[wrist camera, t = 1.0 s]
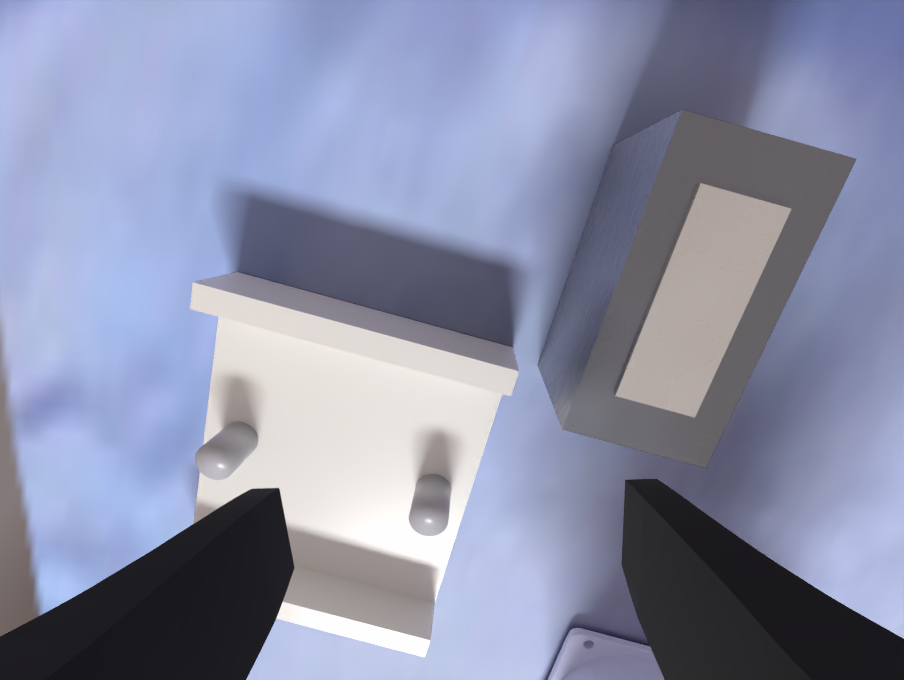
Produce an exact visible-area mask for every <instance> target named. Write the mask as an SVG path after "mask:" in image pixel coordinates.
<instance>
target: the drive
mask: <svg viewBox="0 0 904 680" xmlns="http://www.w3.org/2000/svg"><path fill="white" fill-rule="evenodd" d="M855 161H856V159H855V158H851V157H848V156H844V155H841V154H837V153H834V152H830V151H826V150H823V149H819V148H816V147H812V146H809V145H805V144H802V143H798V142H795V141H791V140H788V139H784V138H781V137H777V136H774V135H770V134H767V133H763V132H760V131H756V130H753V129H749V128H746V127H742V126H739V125H735V124H732V123H728V122H724V121H721V120H717V119H714V118H710V117H707V116H703V115H700V114H696V113H693V112H689V111H686V110H680V111H678V112H676V113H674V114H672V115H670V116H668V117H667V118H665V119H663V120H661V121H659V122H657V123H655V124H653V125H651V126H649V127H647V128H645V129H643V130H641V131H639V132H637V133H636V134H634V135H632V136H630V137H628V138H626V139H624V140H622V141H620V142H618V143H616V144H614V145H613V146H612V149H611V152H610V155H609V158H608V161H607V164H606V167H605V170H604V173H603V176H602V179H601V182H600V184H599V187H598V190H597V193H596V196H595V199H594V202H593V205H592V208H591V211H590V214H589V217H588V220H587V223H586V226H585V228H584V231H583V234H582V237H581V240H580V243H579V246H578V249H577V252H576V255H575V258H574V261H573V264H572V267H571V270H570V272H569V275H568V278H567V281H566V284H565V287H564V290H563V293H562V296H561V299H560V302H559V305H558V308H557V311H556V313H555V316H554V319H553V322H552V325H551V328H550V331H549V334H548V337H547V340H546V343H545V346H544V349H543V352H542V355H541V357H540V360H539V363H538V368H539V370H540V373H541V375H542V378H543V381H544V383H545V386H546V388H547V391H548V393H549V396H550V399H551V401H552V404H553V406H554V409H555V411H556V414H557V416H558V419H559V422H560V424H561V427H562V429H563V430H567V431H570V432H574V433H578V434H581V435H585V436H589V437H592V438H596V439H600V440H604V441H607V442H611V443H615V444H618V445H622V446H626V447H629V448H633V449H637V450H640V451H644V452H648V453H652V454H655V455H659V456H663V457H666V458H670V459H674V460H677V461H681V462H685V463H688V464H692V465H696V466H699V467H703V468H706V466H707V464H708V462H709V460H710V458H711V456H712V454H713V452H714V450H715V448H716V446H717V444H718V442H719V440H720V438H721V436H722V434H723V432H724V430H725V428H726V425H727V423H728V421H729V419H730V417H731V415H732V413H733V411H734V409H735V407H736V405H737V403H738V401H739V399H740V397H741V395H742V393H743V391H744V389H745V387H746V384H747V382H748V380H749V378H750V376H751V374H752V372H753V370H754V368H755V366H756V364H757V362H758V360H759V358H760V356H761V354H762V352H763V350H764V348H765V346H766V343H767V341H768V339H769V337H770V335H771V333H772V331H773V329H774V327H775V325H776V323H777V321H778V319H779V317H780V315H781V313H782V311H783V309H784V307H785V305H786V302H787V300H788V298H789V296H790V294H791V292H792V290H793V288H794V286H795V284H796V282H797V280H798V278H799V276H800V274H801V272H802V270H803V268H804V266H805V264H806V261H807V259H808V257H809V255H810V253H811V251H812V249H813V247H814V245H815V243H816V241H817V239H818V237H819V235H820V233H821V231H822V229H823V227H824V225H825V223H826V220H827V218H828V216H829V214H830V212H831V210H832V208H833V206H834V204H835V202H836V200H837V198H838V196H839V194H840V192H841V190H842V188H843V186H844V184H845V182H846V179H847V177H848V175H849V173H850V171H851V169H852V167H853V165H854V163H855Z"/></svg>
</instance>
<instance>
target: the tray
mask: <svg viewBox="0 0 904 680" xmlns="http://www.w3.org/2000/svg"><path fill="white" fill-rule="evenodd" d="M190 309H192V310H196V311H199V312H203V313H207V314H210V315H214V316H218V317H219V319H218V327H217V335H216V344H215V352H214V360H213V368H212V376H211V385H210V393H209V401H208V409H207V418H206V426H205V434H204V442H203V446H202V447H201V448H200V449H199V450H198V451H197V453H196V455H195V463H196V466H197V468H198V469H199V471H200V475H199V483H198V492H197V500H196V508H195V516H194V523H196V522H198V521H199V520H201V519H202V518H204V517H205V516H207V515H208V514H210V513H212V512H213V511H215V510H216V509H218V508H219V507H221V506H223V505H224V504H226V503H227V502H229V501H231V500H232V499H234V498H236V497H237V496H239V495H241V494H243V493H245V492H246V491H248V490H250V489H257V488H279V489H280V494H281V499H282V505H283V510H284V515H285V520H286V526H287V531H288V536H289V541H290V546H291V552H292V557H293V562H294V567H295V568H294V571H293V574H292V577H291V580H290V583H289V586H288V588H287V591H286V594H285V597H284V600H283V602H282V605H281V608H280V610H279V613H278V615H277V619H281V620H284V621H288V622H292V623H296V624H300V625H304V626H307V627H311V628H315V629H319V630H323V631H326V632H330V633H334V634H338V635H342V636H346V637H349V638H353V639H357V640H361V641H365V642H368V643H372V644H376V645H380V646H384V647H388V648H391V649H395V650H399V651H403V652H407V653H411V654H414V655H418V656H422V657H425V655H426V652H427V649H428V646H429V643H430V640H431V631H432V622H433V613H434V605H435V600H436V597H437V594H438V591H439V588H440V585H441V582H442V579H443V575H444V572H445V569H446V566H447V563H448V560H449V557H450V554H451V551H452V548H453V544H454V541H455V538H456V535H457V532H458V529H459V526H460V523H461V520H462V517H463V514H464V510H465V507H466V504H467V501H468V498H469V495H470V492H471V489H472V486H473V483H474V480H475V476H476V473H477V470H478V467H479V464H480V461H481V458H482V455H483V452H484V449H485V446H486V442H487V439H488V436H489V433H490V430H491V427H492V424H493V421H494V418H495V415H496V411H497V408H498V405H499V402H500V399H501V396H502V394H504V395H508V396H511V395H512V392H513V389H514V386H515V383H516V380H517V377H518V374H519V369H518V365H517V361H516V357H515V353H514V349H513V347H509V346H506V345H502V344H499V343H495V342H491V341H488V340H484V339H480V338H477V337H473V336H469V335H466V334H462V333H458V332H455V331H451V330H447V329H444V328H440V327H436V326H433V325H429V324H425V323H422V322H418V321H415V320H411V319H407V318H404V317H400V316H396V315H393V314H389V313H385V312H382V311H378V310H374V309H371V308H367V307H363V306H360V305H356V304H352V303H349V302H345V301H342V300H338V299H334V298H331V297H327V296H323V295H320V294H316V293H312V292H309V291H305V290H301V289H298V288H294V287H290V286H287V285H283V284H279V283H276V282H272V281H269V280H265V279H261V278H258V277H254V276H250V275H247V274H243V273H239V272H234V273H230V274H226V275H222V276H217V277H213V278H209V279H205V280H201V281H196V282H193V286H192V296H191V306H190Z"/></svg>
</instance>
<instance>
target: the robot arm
mask: <svg viewBox="0 0 904 680" xmlns="http://www.w3.org/2000/svg"><path fill="white" fill-rule="evenodd" d="M622 567H623V570H624V574H625V577H626V581H627V584H628V587H629V591H630V594H631V597H632V600H633V604H634V607H635V610H636V613H637V616H638V619H639V621H640V624H641V626H642V628H643V631H644V633H645V635H646V638H647V640H648V642H649V645H650V646H646V645H643V644H639V643H635V642H631V641H627V640H624V639H620V638H616V637H612V636H608V635H605V634H601V633H597V632H593V631H590V630H586V629H582V628H573V629H572V630H570V631H569V633H568V635H567V637H566V639H565V641H564V644H563V646H562V648H561V650H560V653H559V655H558V657H557V659H556V662H555V664H554V666H553V669H552V671H551V673H550V675H549V678H548V680H904V639H903V638H901V637H899V636H898V635H896V634H894V633H892V632H891V631H889V630H887V629H885V628H883V627H882V626H880V625H878V624H876V623H875V622H873V621H871V620H869V619H867V618H866V617H864V616H862V615H860V614H859V613H857V612H855V611H853V610H852V609H850V608H848V607H846V606H845V605H843V604H841V603H840V602H838V601H836V600H835V599H833V598H831V597H830V596H828V595H826V594H825V593H823V592H821V591H820V590H818V589H817V588H815V587H813V586H812V585H810V584H809V583H807V582H806V581H804V580H802V579H801V578H799V577H798V576H796V575H795V574H793V573H791V572H790V571H788V570H787V569H785V568H784V567H782V566H780V565H779V564H777V563H776V562H774V561H773V560H771V559H770V558H768V557H767V556H765V555H764V554H762V553H761V552H759V551H758V550H756V549H755V548H753V547H752V546H751V545H749V544H748V543H746V542H745V541H743V540H742V539H740V538H739V537H738V536H736V535H735V534H733V533H732V532H730V531H729V530H728V529H726V528H725V527H723V526H722V525H721V524H719V523H718V522H716V521H715V520H714V519H712V518H711V517H709V516H708V515H707V514H705V513H704V512H703V511H701V510H700V509H698V508H697V507H696V506H694V505H693V504H692V503H690V502H689V501H687V500H686V499H685V498H683V497H682V496H681V495H679V494H678V493H676V492H675V491H674V490H672V489H671V488H669V487H668V486H666V485H665V484H664V483H662V482H660V481H659V480H657V479H638V480H625V501H624V524H623V547H622ZM294 568H295V567H294V562H293V557H292V552H291V546H290V541H289V536H288V531H287V526H286V520H285V515H284V510H283V505H282V499H281V494H280V489H279V488H257V489H250V490H248V491H246V492H245V493H243V494H241V495H239V496H237V497H236V498H234V499H232V500H231V501H229V502H227V503H226V504H224V505H223V506H221V507H219V508H218V509H216V510H215V511H213V512H212V513H210V514H208V515H207V516H205V517H204V518H202V519H201V520H199V521H198V522H196V523H194V524H193V525H191V526H190V527H188V528H187V529H185V530H184V531H182V532H180V533H179V534H177V535H176V536H174V537H173V538H171V539H169V540H168V541H166V542H165V543H163V544H162V545H160V546H159V547H157V548H155V549H154V550H152V551H151V552H149V553H147V554H146V555H144V556H142V557H141V558H139V559H137V560H136V561H134V562H132V563H131V564H129V565H127V566H126V567H124V568H123V569H121V570H119V571H118V572H116V573H114V574H113V575H111V576H109V577H108V578H106V579H104V580H103V581H101V582H99V583H98V584H96V585H94V586H93V587H91V588H89V589H88V590H86V591H84V592H82V593H81V594H79V595H77V596H75V597H74V598H72V599H70V600H68V601H66V602H65V603H63V604H61V605H59V606H57V607H56V608H54V609H52V610H50V611H48V612H46V613H44V614H42V615H41V616H39V617H37V618H35V619H33V620H31V621H29V622H27V623H26V624H23V625H22V626H20V627H18V628H16V629H14V630H12V631H10V632H8V633H6V634H4V635H3V636H1V637H0V680H246V679H247V677H248V675H249V673H250V671H251V669H252V667H253V665H254V663H255V661H256V659H257V657H258V655H259V653H260V651H261V649H262V647H263V645H264V643H265V641H266V639H267V636H268V634H269V632H270V630H271V628H272V626H273V624H274V622H275V620H276V618H277V615H278V613H279V610H280V608H281V605H282V602H283V600H284V597H285V594H286V591H287V588H288V586H289V583H290V580H291V577H292V574H293V571H294ZM588 640H589V641H588Z"/></svg>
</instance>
